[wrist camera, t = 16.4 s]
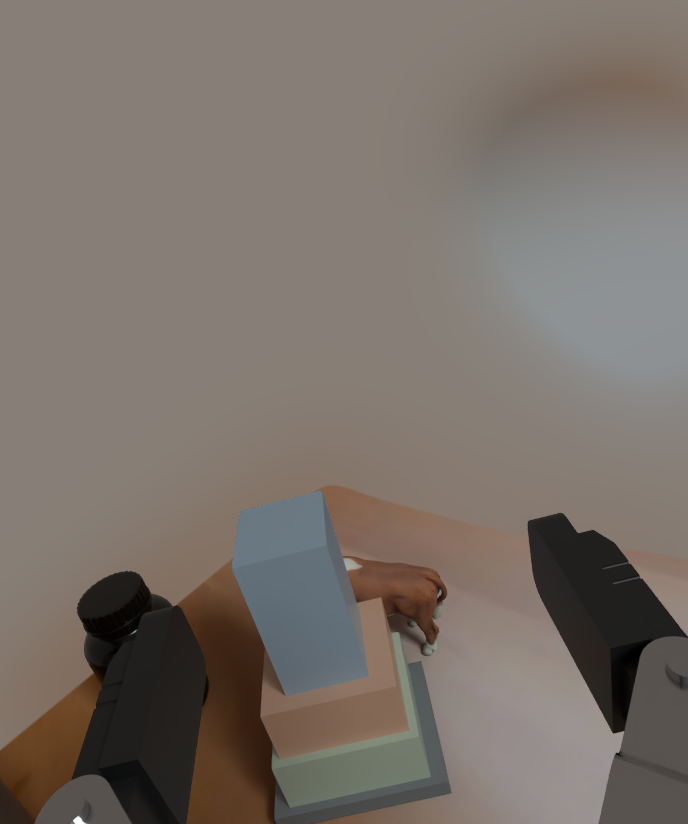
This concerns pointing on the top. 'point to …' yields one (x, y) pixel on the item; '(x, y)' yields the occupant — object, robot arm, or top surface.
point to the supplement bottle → (115, 617)
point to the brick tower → (354, 735)
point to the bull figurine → (400, 592)
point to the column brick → (300, 593)
